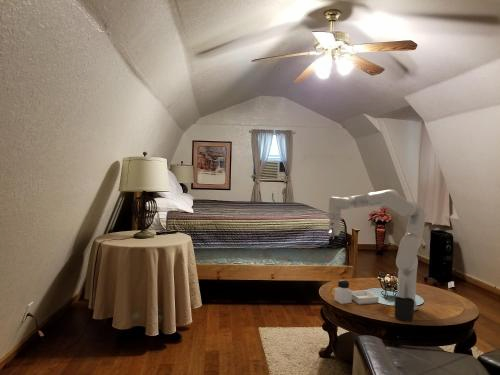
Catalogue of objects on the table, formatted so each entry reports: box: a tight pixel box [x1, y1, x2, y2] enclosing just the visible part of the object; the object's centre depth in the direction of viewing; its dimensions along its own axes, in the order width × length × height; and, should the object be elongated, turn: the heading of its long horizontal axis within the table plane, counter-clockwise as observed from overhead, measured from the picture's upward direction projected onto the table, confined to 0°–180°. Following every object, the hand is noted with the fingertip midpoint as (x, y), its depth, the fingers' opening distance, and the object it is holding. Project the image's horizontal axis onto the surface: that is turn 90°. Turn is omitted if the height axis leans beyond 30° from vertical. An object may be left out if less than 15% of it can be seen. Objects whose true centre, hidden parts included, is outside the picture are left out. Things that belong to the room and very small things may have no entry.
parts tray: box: [351, 289, 379, 305], centre depth 226 cm, size 13×13×4 cm
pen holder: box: [394, 296, 415, 322], centre depth 200 cm, size 9×9×10 cm
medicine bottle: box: [333, 279, 353, 305], centre depth 223 cm, size 7×7×12 cm
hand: (333, 244), depth 238 cm, fingers open, 9 cm apart
